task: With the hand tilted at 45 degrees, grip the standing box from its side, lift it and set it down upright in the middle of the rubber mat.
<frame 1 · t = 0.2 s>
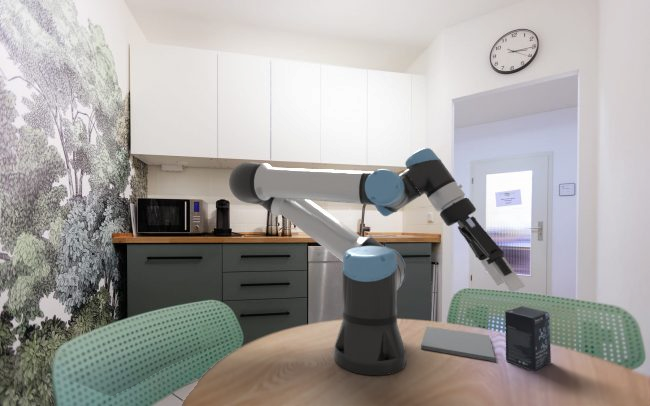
hand: (509, 285, 65), 16 cm above the table, tool tilted 30°, fingers open, 13 cm apart
box: (528, 362, 63), on the table
mat: (456, 343, 73), on the table
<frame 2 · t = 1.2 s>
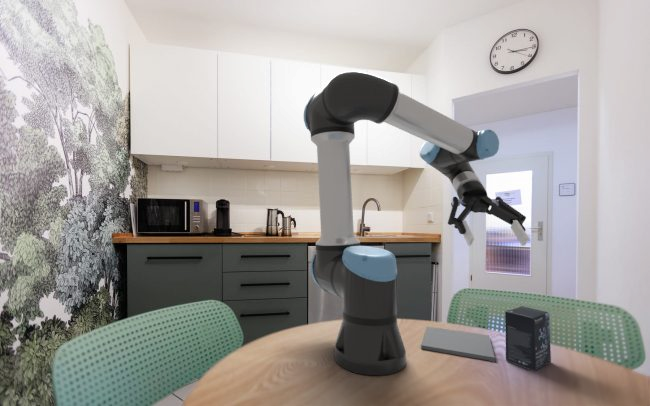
hand: (498, 242, 76), 24 cm above the table, tool tilted 45°, fingers open, 13 cm apart
nothing on the table moved.
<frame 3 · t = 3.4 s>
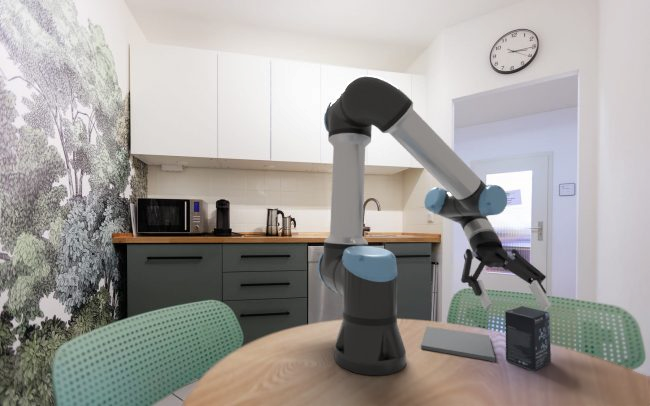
hand: (517, 307, 69), 10 cm above the table, tool tilted 45°, fingers open, 13 cm apart
nothing on the table moved.
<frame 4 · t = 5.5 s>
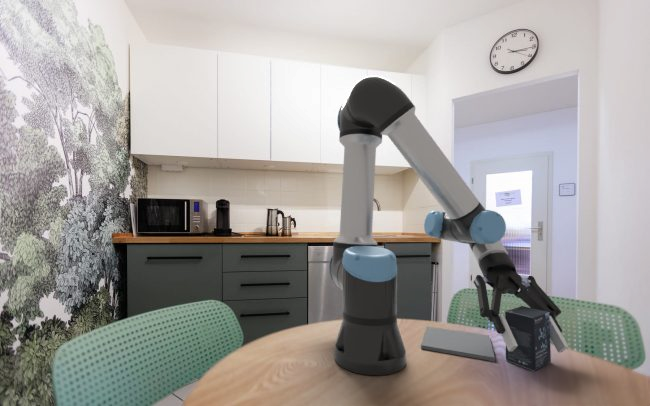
hand: (538, 349, 60), 4 cm above the table, tool tilted 45°, fingers closed on box, 9 cm apart
box: (528, 362, 63), on the table, touching gripper
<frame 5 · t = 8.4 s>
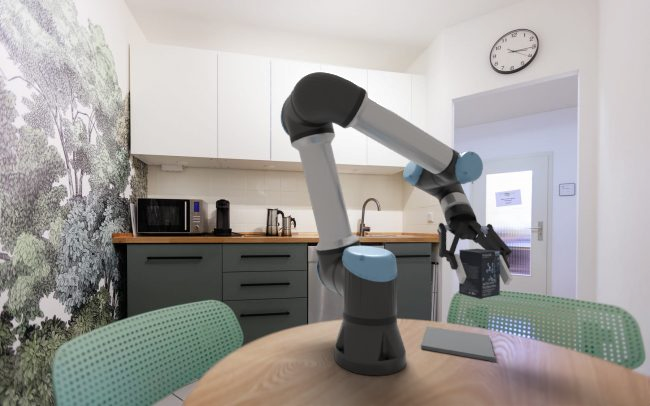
hand: (485, 280, 67), 16 cm above the table, tool tilted 45°, fingers closed on box, 9 cm apart
box: (479, 295, 70), point 12 cm above the table, touching gripper
when the fingers open (6 cm above the table, at t = 11.3 s): box drops 1 cm, resting on mat.
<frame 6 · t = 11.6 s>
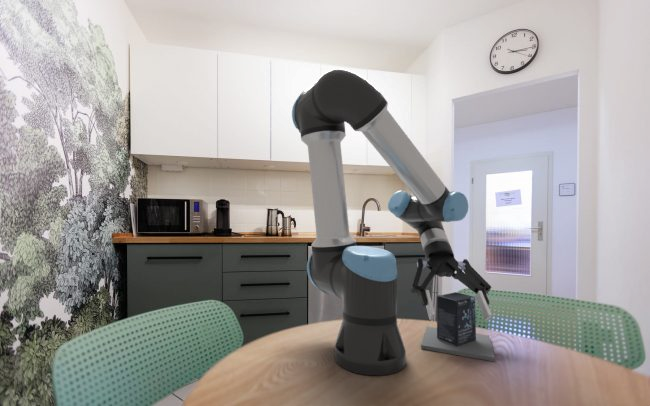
hand: (460, 317, 71), 7 cm above the table, tool tilted 45°, fingers open, 12 cm apart
box: (456, 340, 73), point 1 cm above the table, touching mat
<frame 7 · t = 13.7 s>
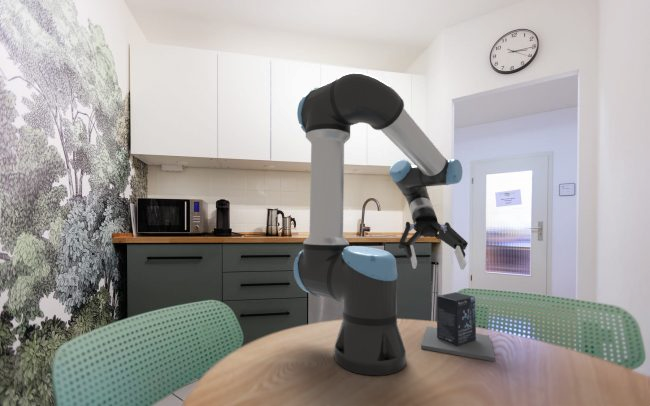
hand: (439, 266, 84), 17 cm above the table, tool tilted 45°, fingers open, 13 cm apart
nothing on the table moved.
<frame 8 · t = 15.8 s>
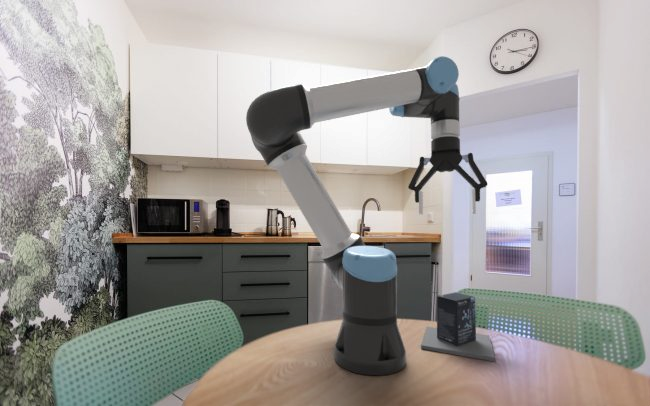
hand: (446, 214, 83), 32 cm above the table, tool pointing down, fingers open, 13 cm apart
nothing on the table moved.
at the end: box inside the target area on the mat (0.2 cm from its centre), point 0.6 cm above the mat's base; box tilted 0°; the gripper is holding nothing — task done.
